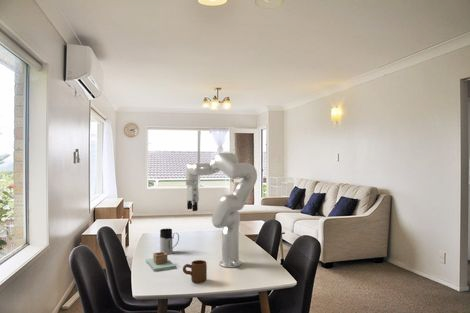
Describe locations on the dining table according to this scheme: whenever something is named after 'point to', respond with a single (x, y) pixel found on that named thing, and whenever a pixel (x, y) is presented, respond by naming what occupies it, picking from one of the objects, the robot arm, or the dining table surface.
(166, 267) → the base board
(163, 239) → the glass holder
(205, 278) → the mug
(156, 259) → the walnut collar
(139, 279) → the dining table surface
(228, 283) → the dining table surface
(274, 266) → the dining table surface
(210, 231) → the dining table surface
